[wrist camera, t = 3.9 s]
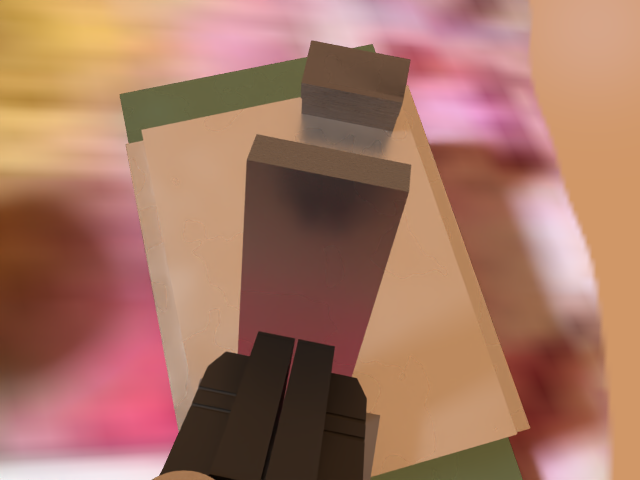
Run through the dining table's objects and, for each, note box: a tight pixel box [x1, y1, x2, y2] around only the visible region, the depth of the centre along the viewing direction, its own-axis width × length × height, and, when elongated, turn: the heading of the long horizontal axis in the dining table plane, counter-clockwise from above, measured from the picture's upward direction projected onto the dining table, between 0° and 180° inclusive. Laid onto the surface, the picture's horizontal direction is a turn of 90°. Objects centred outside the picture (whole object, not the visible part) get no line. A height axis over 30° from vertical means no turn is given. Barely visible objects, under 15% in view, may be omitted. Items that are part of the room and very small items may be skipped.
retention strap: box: [238, 134, 411, 394], centre depth 15 cm, size 12×3×1 cm
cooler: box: [120, 41, 530, 480], centre depth 23 cm, size 24×13×8 cm, turn 15°
